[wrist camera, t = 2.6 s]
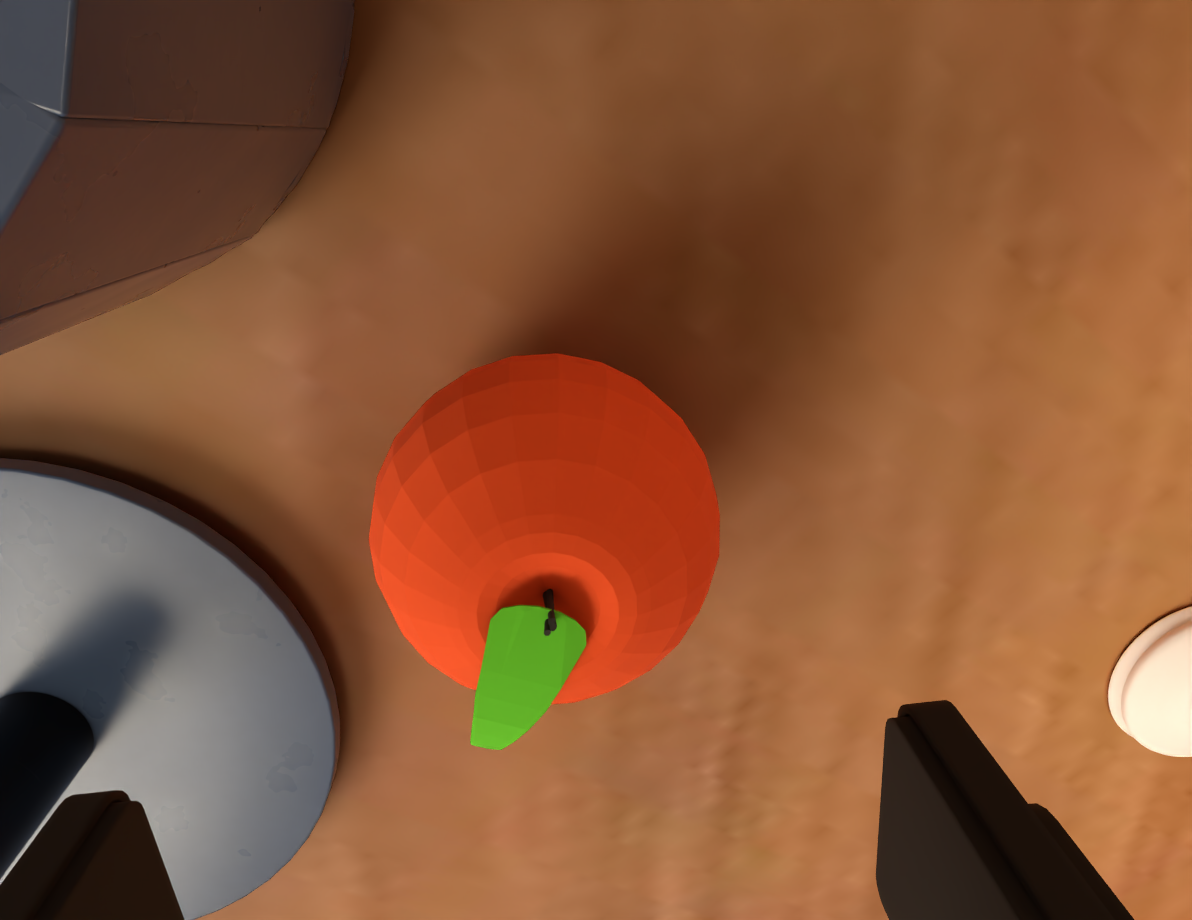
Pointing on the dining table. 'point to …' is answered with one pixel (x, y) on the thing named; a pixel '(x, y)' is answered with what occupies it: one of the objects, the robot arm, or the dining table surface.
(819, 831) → the dining table surface
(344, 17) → the tin
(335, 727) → the lid
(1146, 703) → the chess piece
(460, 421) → the clementine
